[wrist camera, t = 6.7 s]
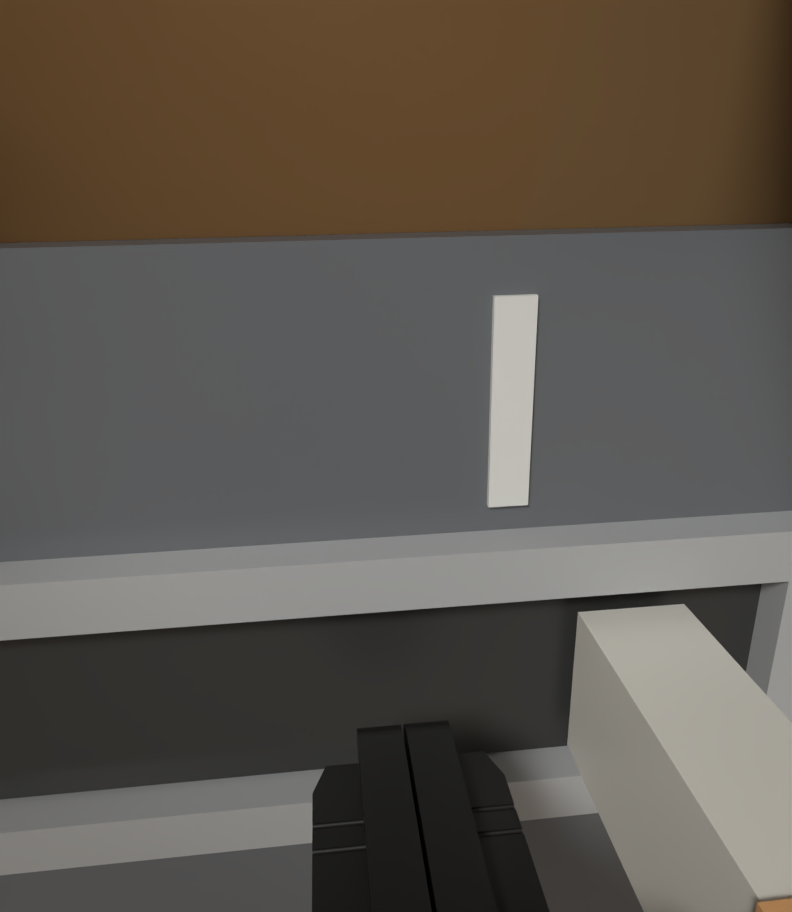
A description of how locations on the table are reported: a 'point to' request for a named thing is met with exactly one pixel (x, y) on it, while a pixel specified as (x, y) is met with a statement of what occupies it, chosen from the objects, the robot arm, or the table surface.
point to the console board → (361, 528)
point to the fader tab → (682, 762)
